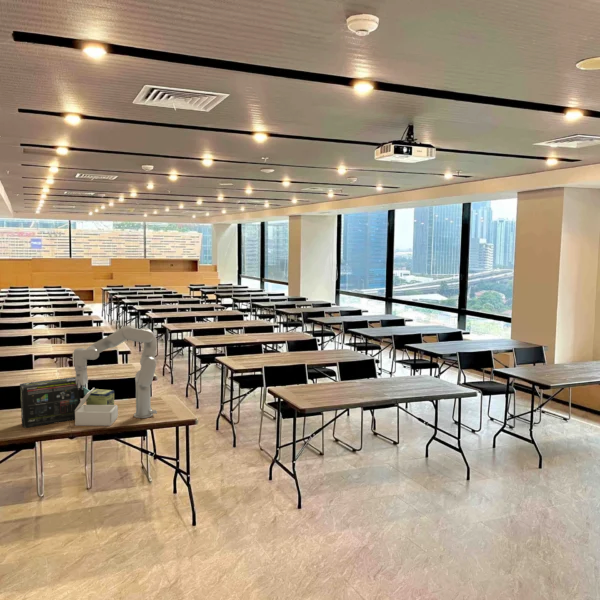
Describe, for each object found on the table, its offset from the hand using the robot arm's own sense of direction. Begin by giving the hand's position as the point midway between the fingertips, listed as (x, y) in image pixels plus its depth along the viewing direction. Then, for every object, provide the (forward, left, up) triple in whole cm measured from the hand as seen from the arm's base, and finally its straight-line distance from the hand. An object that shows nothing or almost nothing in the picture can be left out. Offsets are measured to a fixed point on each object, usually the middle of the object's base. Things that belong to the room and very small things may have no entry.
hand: (82, 395), depth 369 cm
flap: (-2, 0, -3) cm, 4 cm away
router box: (+20, 0, -18) cm, 27 cm away
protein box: (-6, -18, -18) cm, 26 cm away
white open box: (-9, 0, -18) cm, 20 cm away
